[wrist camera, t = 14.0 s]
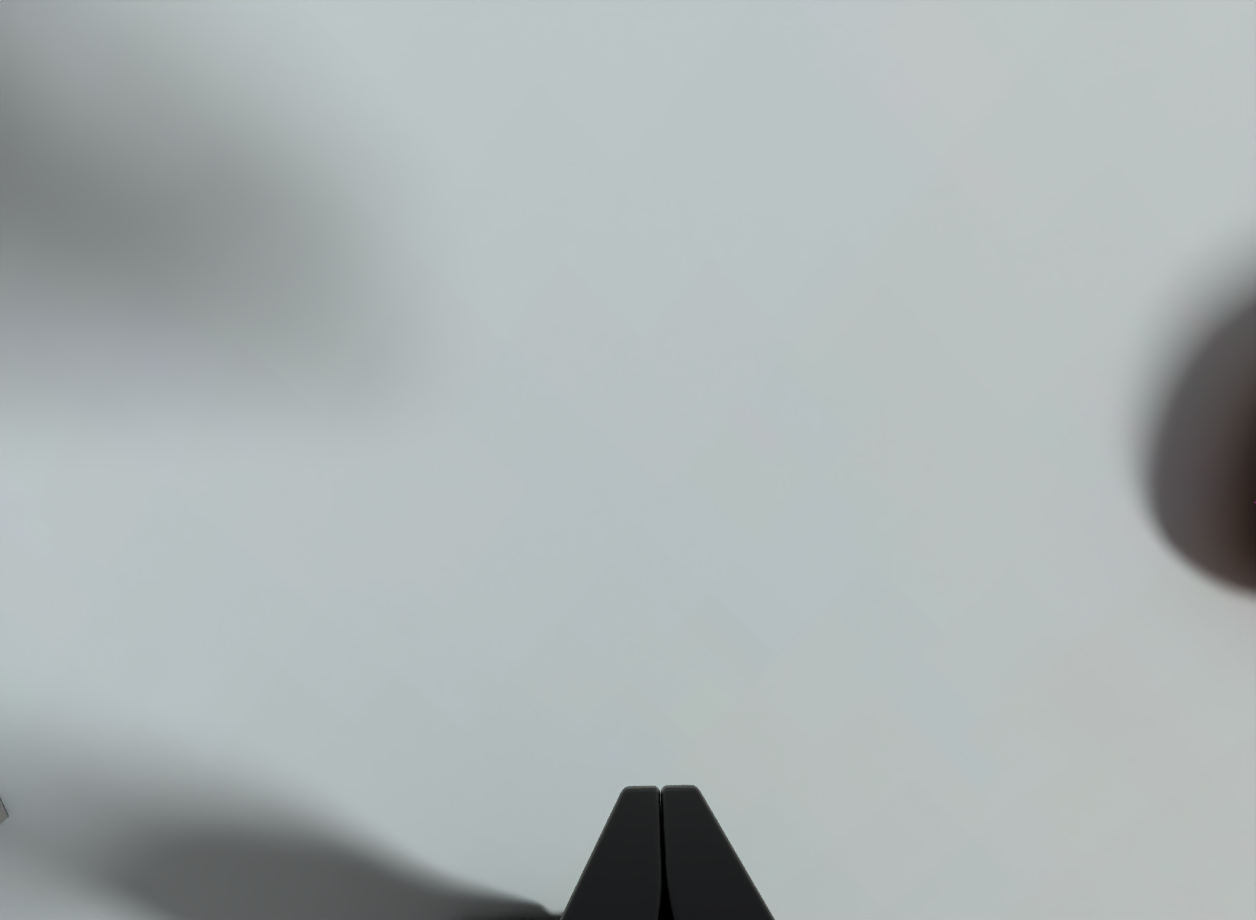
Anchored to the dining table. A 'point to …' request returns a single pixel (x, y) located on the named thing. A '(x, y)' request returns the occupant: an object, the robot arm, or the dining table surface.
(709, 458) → the dining table surface
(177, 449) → the dining table surface
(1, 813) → the frame
